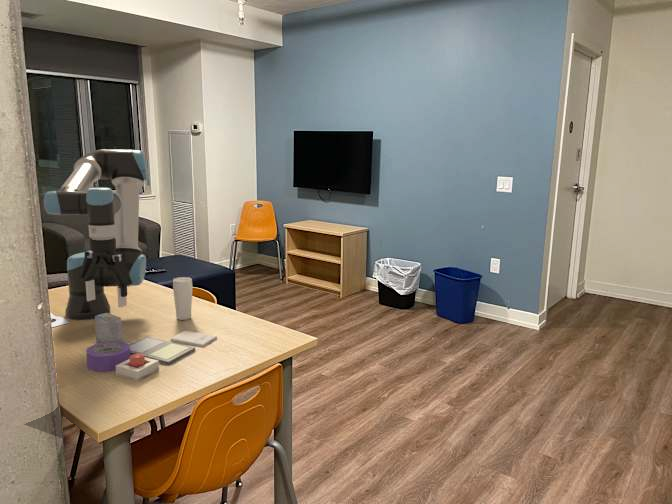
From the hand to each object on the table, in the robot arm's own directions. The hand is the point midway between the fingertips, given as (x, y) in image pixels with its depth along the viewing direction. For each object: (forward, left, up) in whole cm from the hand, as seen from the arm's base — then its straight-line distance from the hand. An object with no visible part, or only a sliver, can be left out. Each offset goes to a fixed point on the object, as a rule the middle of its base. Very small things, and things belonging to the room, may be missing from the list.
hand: (106, 303), depth 162 cm
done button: (+25, -13, -11) cm, 30 cm away
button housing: (+25, -13, -13) cm, 31 cm away
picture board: (+19, +1, -13) cm, 23 cm away
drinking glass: (+6, +29, -13) cm, 33 cm away
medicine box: (0, 0, -14) cm, 14 cm away
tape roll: (+13, -12, -14) cm, 22 cm away
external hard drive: (+23, +14, -14) cm, 30 cm away
